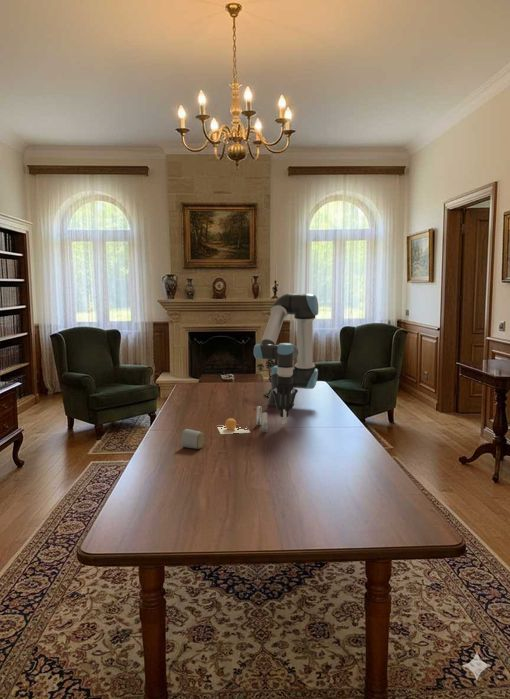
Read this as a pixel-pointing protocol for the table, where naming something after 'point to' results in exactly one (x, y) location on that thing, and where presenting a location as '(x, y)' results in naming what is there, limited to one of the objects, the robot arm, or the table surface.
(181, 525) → the table surface
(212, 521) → the table surface
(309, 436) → the table surface
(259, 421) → the post
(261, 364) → the bonsai tree
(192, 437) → the grey cylinder
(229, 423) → the ball
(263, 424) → the post
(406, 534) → the table surface
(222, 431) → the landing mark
